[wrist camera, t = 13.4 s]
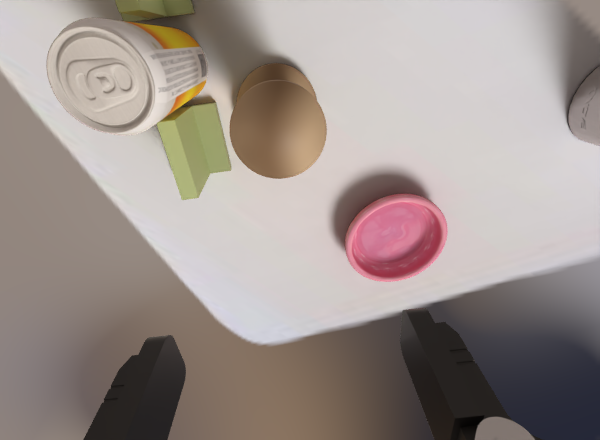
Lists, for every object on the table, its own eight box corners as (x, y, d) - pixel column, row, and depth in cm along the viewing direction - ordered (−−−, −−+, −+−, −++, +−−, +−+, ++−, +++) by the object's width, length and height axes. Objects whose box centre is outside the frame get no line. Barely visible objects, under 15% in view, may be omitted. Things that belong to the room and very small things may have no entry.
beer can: (130, 35, 29) (10, 30, 15) (196, 21, 28) (131, 4, 15) (158, 105, 32) (77, 150, 18) (217, 92, 31) (178, 128, 18)
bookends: (169, -94, 25) (134, -139, 18) (231, 167, 35) (222, 194, 29) (92, -84, 25) (32, -125, 18) (177, 175, 35) (157, 203, 29)
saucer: (413, 274, 45) (422, 289, 42) (330, 261, 43) (333, 276, 40) (453, 196, 39) (467, 207, 37) (359, 176, 37) (366, 187, 34)
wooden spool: (312, 57, 30) (329, 65, 21) (319, 140, 34) (336, 177, 25) (229, 69, 30) (209, 81, 21) (246, 150, 34) (235, 191, 25)
